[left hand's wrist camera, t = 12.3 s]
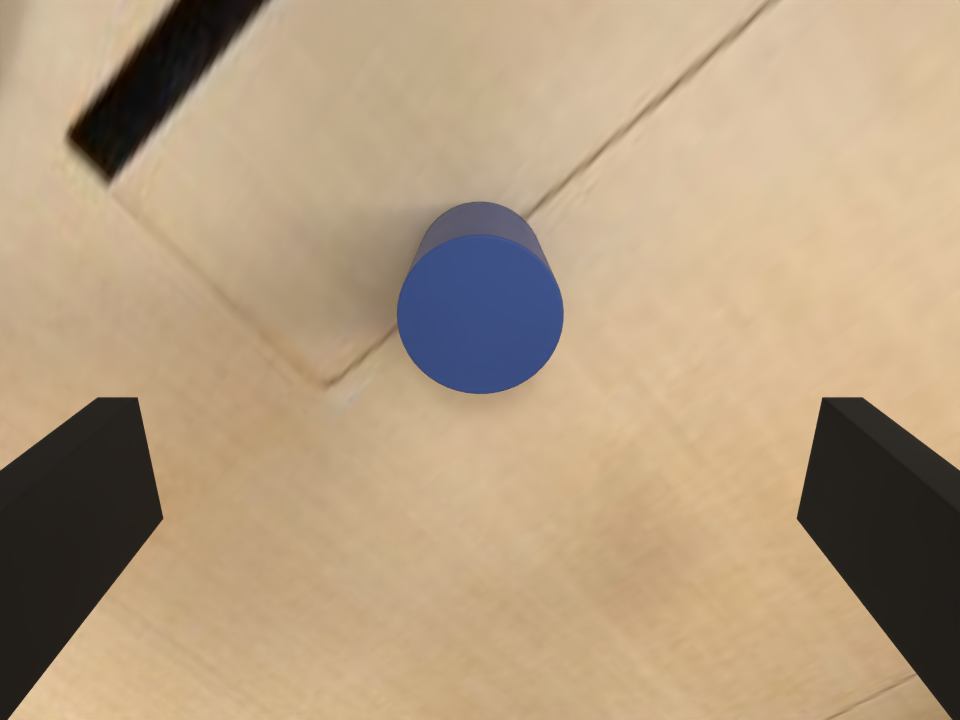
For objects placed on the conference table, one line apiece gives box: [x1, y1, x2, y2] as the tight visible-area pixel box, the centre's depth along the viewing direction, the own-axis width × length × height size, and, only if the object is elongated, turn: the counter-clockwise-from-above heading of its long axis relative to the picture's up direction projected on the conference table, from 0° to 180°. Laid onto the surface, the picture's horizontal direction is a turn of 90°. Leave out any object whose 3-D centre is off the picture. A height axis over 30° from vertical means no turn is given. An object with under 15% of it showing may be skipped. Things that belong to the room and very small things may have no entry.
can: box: [397, 202, 564, 394], centre depth 25 cm, size 6×6×8 cm
